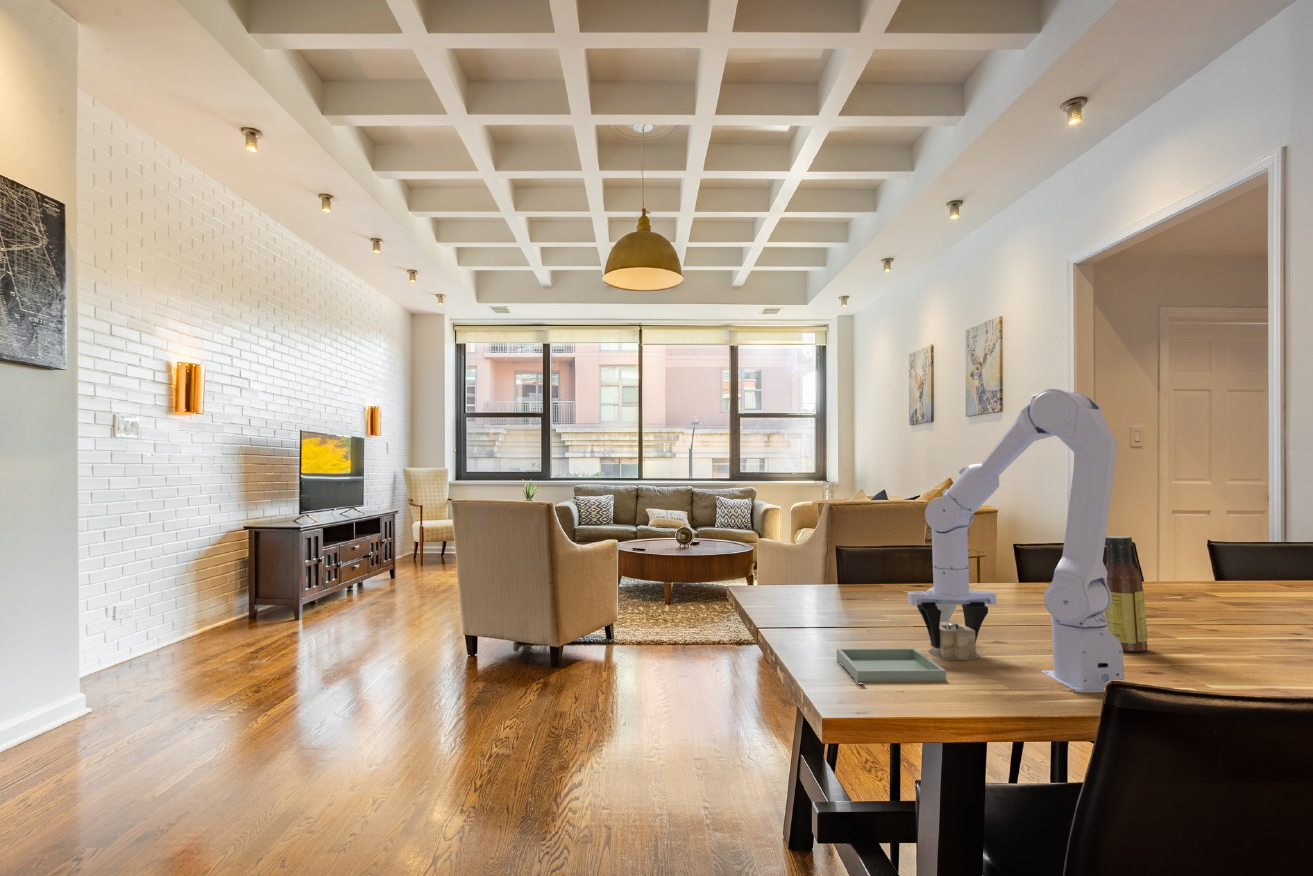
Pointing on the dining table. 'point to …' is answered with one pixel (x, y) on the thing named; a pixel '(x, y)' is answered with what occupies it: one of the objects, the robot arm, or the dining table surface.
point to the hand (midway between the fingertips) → (953, 646)
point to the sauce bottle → (1125, 596)
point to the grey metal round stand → (950, 626)
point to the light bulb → (945, 609)
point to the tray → (889, 665)
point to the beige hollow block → (956, 642)
